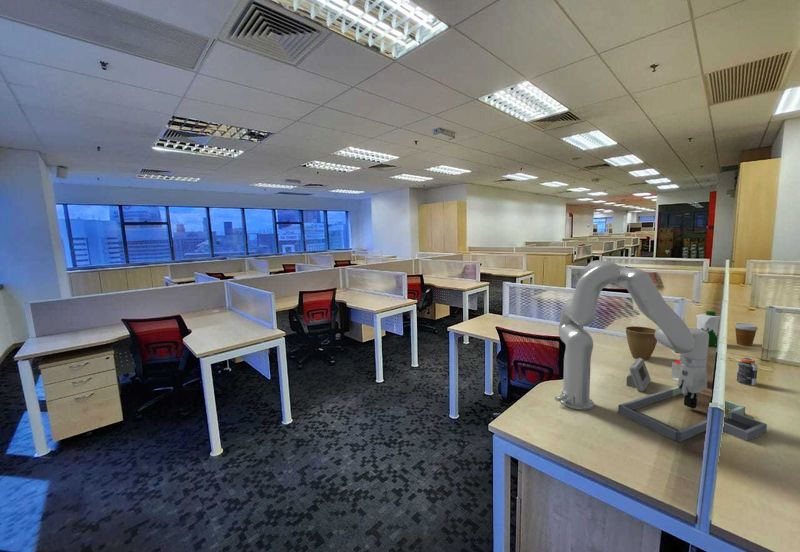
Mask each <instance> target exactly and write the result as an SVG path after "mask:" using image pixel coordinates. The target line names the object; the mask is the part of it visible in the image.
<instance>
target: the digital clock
mask: <svg viewBox="0 0 800 552" xmlns="http://www.w3.org/2000/svg"><path fill="white" fill-rule="evenodd" d="M651 381H652V379H651V376H650V374H649V371H648V368H647V366H646V363H645V360H643V359H642V358H638V359H636V360H634V362H633V363H632V364H631V365H630V366H629V373H628V375H627V376H626V383H625V384H626V386H627V387H630V388H634V389H636V390H637V391H638V392H644V391H645V390H646V388H647V387H648V385H650V382H651Z"/></svg>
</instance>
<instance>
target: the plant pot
mask: <svg viewBox="0 0 800 552" xmlns="http://www.w3.org/2000/svg"><path fill="white" fill-rule="evenodd" d="M656 330H657V329H656V328H652V327H647V326H637V325H636V326H634V325H632V326H626V327H625V333H626V340H627V344H628V347H629V351H630V354H631V356H632V357H633V358H634V359H636V360H637V359H638V358H642V359H643V360H644V361H648V360H649V359H650V358H651V356H652V355H653V353H654V351H655V348H656V347H657V343H658V341H657V340H656V338H655V331H656Z"/></svg>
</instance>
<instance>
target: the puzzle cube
mask: <svg viewBox="0 0 800 552" xmlns="http://www.w3.org/2000/svg"><path fill="white" fill-rule="evenodd" d="M680 367H681V363H680V359H676V360H675V361H672V362H671V379H672V380H675V381H678V380H679V372H680Z"/></svg>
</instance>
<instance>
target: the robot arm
mask: <svg viewBox="0 0 800 552" xmlns="http://www.w3.org/2000/svg"><path fill="white" fill-rule="evenodd" d="M576 283H577V284H576V286H575V287H574V288H575V289H574V293H573V297H572V298H570V299H568V300H567V301H566V302H564V304H563V306H562V308H561V312H560V319H559V324H558V337H559V339H560V340H561V341H562V343H564V345H565V351H564V357H563V385H562V387H563V388H562V391H561V394H560V395H558V396H555V397H554V400H555V402H557V403H558V402H560V403H561V404H562V405H563V406H565V407H567V408H570V409H572V410H573V409H574V410H579V411H588V410H591V409H593V407H594V406H595V404H594V401H593V400H592V399H591V398H590V391H591V389H590V388H591V365H592V362H591V361H592V359H591V358H592V354H593V349H594V340H593V337H592V336H591V334H590V333H589V332H588V331H587V330H586V329H584V327H587V326H590V325H591V324H593V322H594V321H595V318H596V314H597V308H598V307H597V306H598V302H599V297H600V295H601V291H602V290H603V289H604V288H605V287H607V286H608V285H611V286H615V287H619V288H624V289H626V290H627V292H628V293H629V295H630V296H631V298H632V300H633V301H634V303H635V305H636V306H637V308H638V309H639V311H640V312H641V314H642V315H644V316H645V317H647V319H649V320H650V321H652V323H654V324H655V325H656V326H657V327H658V328H657V329H656V331H655V338H656V340H657V343H660V344H661V345H663V346H665V347H666V348H668V349H670V350H672V351H674V352H677V353H679V354H680V357H679V360H680V363H681V367H680V372H679V380H677V384H678V385H677V386H678V387H679V389H682V390H681V394H680V395H683V397H684V399H683V405H684V406H685V407H689V408H691V409H696V408H697V406H696V405H697V397H698V392H700V391H703V390H705V389H708V368H707V367H708V356H709V355H708V354H709V346H708V344H709V334H708V332H707V331H704V330H701V329H697V327H696V328H695V327H688V325H687V324H686V323H685V321H684V320H683V319H682V318H681V317H680V316H679V315H678V313H676V311H674V309H673V308H672V307H671V306H670V305H669V304H668V303H667V302H666V300H665V298H664V297H663V295H662V294H661V292H660V291H659V290H658V288H657V286H656V284H655V283H654V280H653V279H652V278H651V276H650V275H649V273H648V272H646V271H644V270H642V269H638V268H633V267H632V268H631V267H627V266H622V265H619V264H617V263H615V262H613V261H607V260H603V259H602V260H600V259H597V260H592V261H590V262H589V263H588V264H587V266H586V269H585V273H584V274H582V276H581V277H580V278H579V279H578V280H577V282H576ZM687 391H688V392H687ZM695 397H696V398H695Z"/></svg>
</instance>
